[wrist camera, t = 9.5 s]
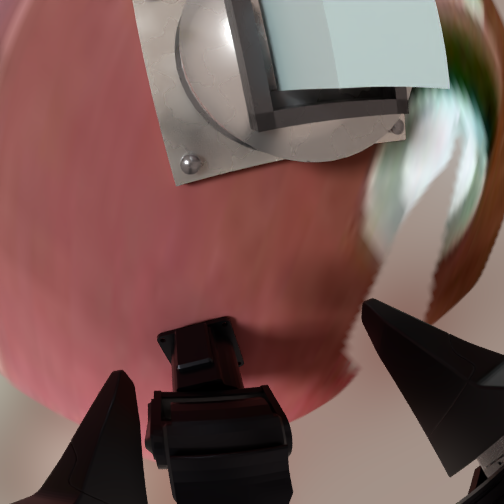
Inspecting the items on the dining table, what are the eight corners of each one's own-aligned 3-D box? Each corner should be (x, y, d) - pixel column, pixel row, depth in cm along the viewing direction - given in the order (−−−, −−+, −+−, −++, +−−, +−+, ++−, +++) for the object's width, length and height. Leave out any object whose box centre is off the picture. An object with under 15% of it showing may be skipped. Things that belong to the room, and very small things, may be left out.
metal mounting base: (397, 137, 20) (457, 157, 14) (176, 182, 18) (174, 220, 13) (371, -25, 13) (426, -47, 7) (131, -13, 11) (112, -56, 6)
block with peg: (365, 83, 13) (449, 88, 8) (277, 91, 12) (339, 88, 7) (341, -30, 9) (412, -65, 4) (249, -33, 9) (291, -94, 4)
